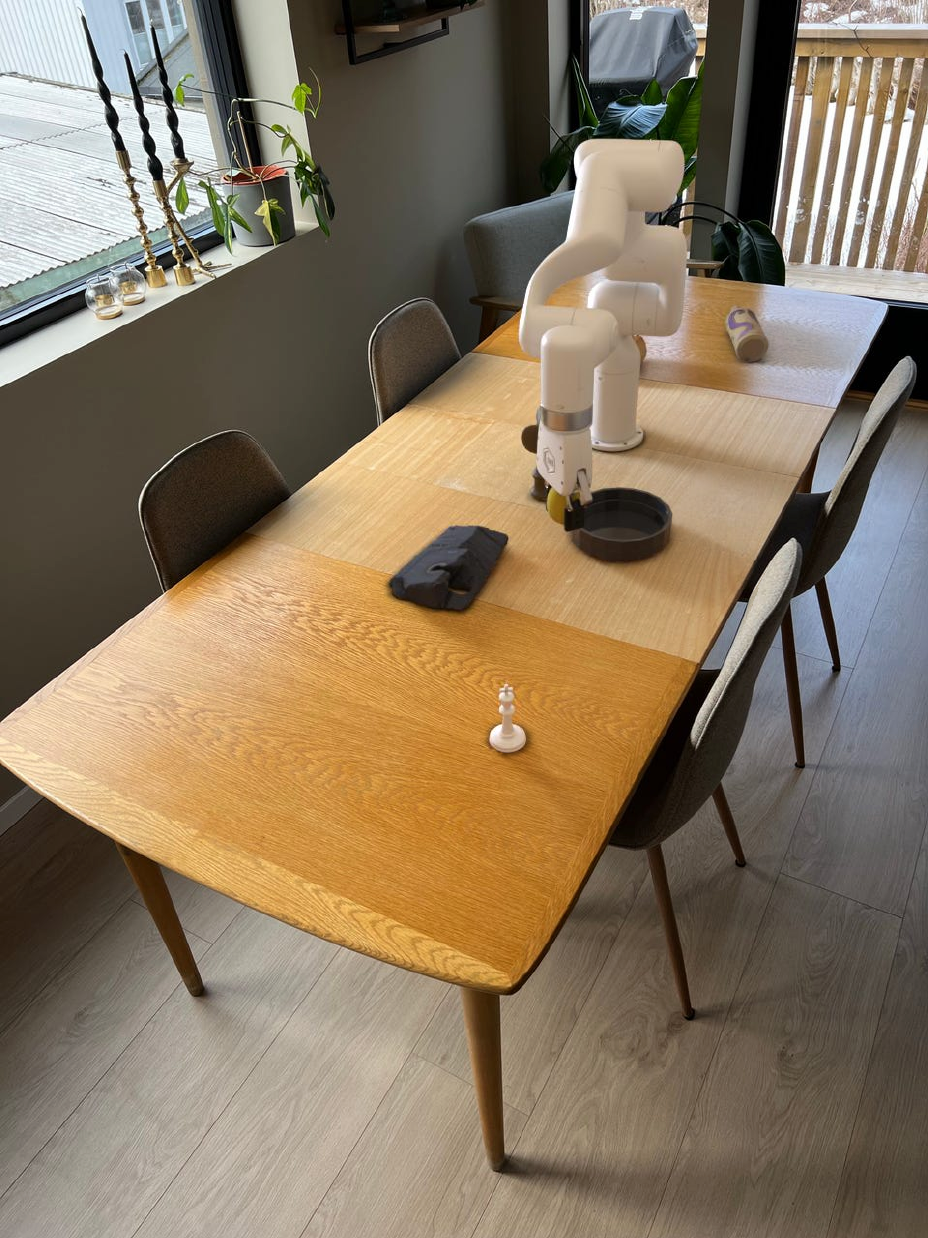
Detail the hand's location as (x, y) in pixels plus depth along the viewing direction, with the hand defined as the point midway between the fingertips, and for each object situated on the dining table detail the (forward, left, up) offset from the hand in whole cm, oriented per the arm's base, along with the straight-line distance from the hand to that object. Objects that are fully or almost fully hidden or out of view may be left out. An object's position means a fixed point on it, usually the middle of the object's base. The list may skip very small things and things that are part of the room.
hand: (564, 518), depth 152 cm
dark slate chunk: (-11, -15, -13) cm, 22 cm away
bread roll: (-67, +49, -13) cm, 84 cm away
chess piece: (+29, -23, -13) cm, 39 cm away
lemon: (0, 0, -2) cm, 2 cm away
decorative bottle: (-67, +82, -13) cm, 107 cm away
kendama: (-26, +9, -13) cm, 30 cm away
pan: (-8, +15, -12) cm, 21 cm away
